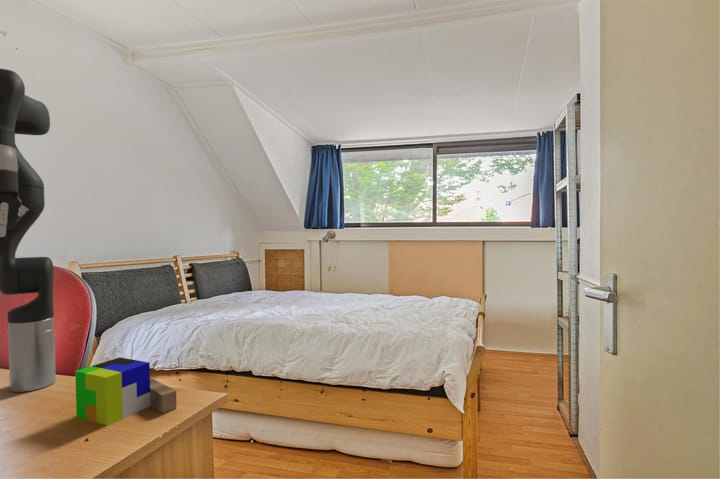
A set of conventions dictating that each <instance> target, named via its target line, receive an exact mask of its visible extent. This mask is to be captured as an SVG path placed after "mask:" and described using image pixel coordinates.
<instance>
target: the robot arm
mask: <svg viewBox="0 0 720 479" xmlns="http://www.w3.org/2000/svg"><path fill="white" fill-rule="evenodd" d="M25 93H26V87H25V83H24V81H23V79H22V78H21V77H20V75H19V74H17V72H15V71H13V70H10V69H5V68H0V292H1V293H2V294H3V295H6V296H7V295H8V296H9V295H12V296H13V295H23V294H24V295H25V294H35V293H37V296H36V297H35V298H34V299H33V300H30V301H28V303H25V304H23V305H19V306H16V307H13V308H12V309H10V310H8V312H7V336H8V366H9V367H8V368H9V369H8V370H9V390H10V392H15V393H21V392H22V393H23V392H24V393H25V392H29V391H30V392H31V391H36V390H40V389H43V388H45V387H46V388H47V387H49V386H51V385H53V384H55V382H57V381H56V376H57V375H56V346H55V345H56V344H55V343H56V342H55V340H56V339H55V337H56V336H55V317H54V316H55V315H54V313H55V312H54V311H55V310H54V273H55V270H54V264H53V261H52V258H50V257H48V256H30V257H16V252H17V250H18V247H19V245H20V243H21V241H22V239H24V236H25V234H26V233H28V231H29V230H30V229H31V227H32V225H34V223H35V222H36V221H37V220H38V219H39V218H40V216H41V215H42V214H43V211H44V209H45V203H46V202H45V184H44V182H43V179H42V178H41V176H40V175H39V174H38V173H37V171H36V170H35V168H33V166H32V165H31V164H30V163H29V161H27V159H25V157H24V155H23V154H22V153H21V151H20V150H19V148H18V146H17V145H16V135H24V136H25V135H28V136H44V135H46V134H48V133H49V131H50V127H51V119H50V112H49V110H48V107H47V106H46V104H45V103H44V102H42V101H39V100H36V99H35V98H32V97H30V96H28V95H26V94H25Z"/></svg>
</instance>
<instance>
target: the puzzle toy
mask: <svg viewBox="0 0 720 479" xmlns="http://www.w3.org/2000/svg"><path fill="white" fill-rule="evenodd" d="M150 363H151V362H148V361H144V360H137V359H133V358H132V359H131V358H130V359H129V358H127V357H122V356H121V357H116V358H113V359H110V360H107V361H103V362H99V363H98V364H94V365H90V366H87V367H85V368H82V369H78V370H75V371H74V373H75V375H74V376H75V403H76V405H75V409H76V410H75V411H76V413H75V414H76V415H75V416H76V418H78V419H82V420H86V421H89V422H93V423H96V424H99V425H103V426H110V425H112V424H114V423H117V422H118V421H121V420H123V419H125V418H127V417H130V416H132V415H134V414H136V413H138V412H140V410H141V411H143V410H145V409H147V408H149V407H152V406H151V405H150V378H151V375H150V374H151V370H150V367H151V366H150V365H151V364H150Z"/></svg>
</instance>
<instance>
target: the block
mask: <svg viewBox="0 0 720 479" xmlns="http://www.w3.org/2000/svg"><path fill="white" fill-rule="evenodd" d="M150 405H151V406H150V407H151V408H154V409H155V410H157V411H159V412H160V413H162V414H165V413H167V412H170V411H173V410H175V409H177V407H178V406H177V390H176V389H173V388H171V387H170V386H167V385H166V384H164V383H162V382H159V381H158V380H156V379H154V378H152V377H150Z"/></svg>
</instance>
